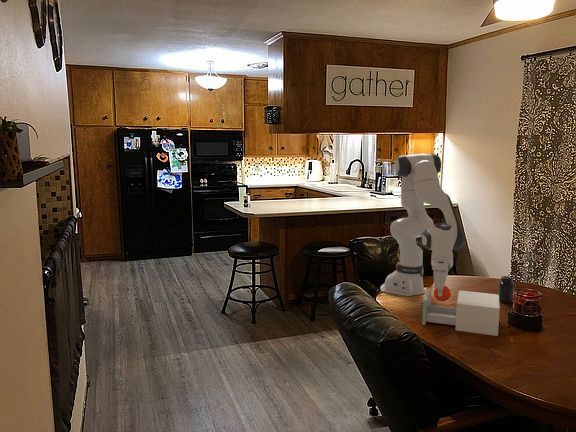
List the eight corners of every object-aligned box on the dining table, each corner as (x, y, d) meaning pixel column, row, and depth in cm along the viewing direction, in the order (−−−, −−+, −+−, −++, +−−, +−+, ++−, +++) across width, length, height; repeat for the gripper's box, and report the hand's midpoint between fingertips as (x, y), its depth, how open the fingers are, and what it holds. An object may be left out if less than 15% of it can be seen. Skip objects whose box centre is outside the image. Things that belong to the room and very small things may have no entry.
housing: (455, 330, 194) (456, 303, 192) (458, 315, 210) (459, 290, 208) (497, 336, 187) (499, 308, 186) (497, 319, 204) (498, 294, 202)
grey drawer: (418, 324, 199) (419, 299, 198) (423, 309, 216) (424, 287, 214) (458, 329, 193) (459, 304, 191) (460, 314, 210) (461, 291, 208)
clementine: (428, 301, 203) (428, 285, 202) (435, 296, 208) (435, 281, 207) (446, 304, 198) (447, 288, 197) (452, 300, 203) (453, 284, 202)
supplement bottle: (510, 299, 230) (511, 275, 228) (515, 303, 223) (517, 279, 221) (495, 298, 230) (497, 275, 228) (500, 303, 224) (502, 279, 222)
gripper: (436, 255, 211) (436, 285, 213) (431, 266, 192) (430, 299, 195) (451, 256, 208) (450, 286, 211) (447, 268, 190) (446, 301, 192)
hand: (441, 292), depth 202 cm, fingers closed on clementine, 7 cm apart
